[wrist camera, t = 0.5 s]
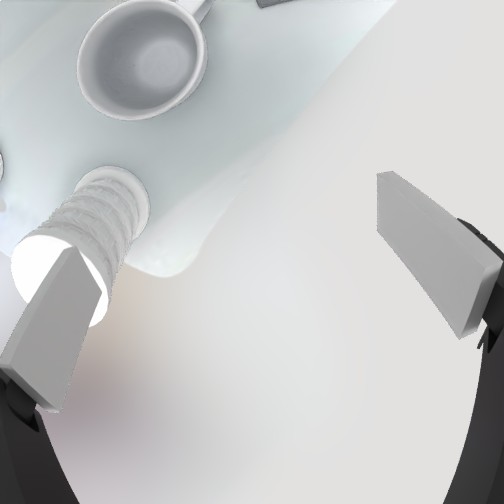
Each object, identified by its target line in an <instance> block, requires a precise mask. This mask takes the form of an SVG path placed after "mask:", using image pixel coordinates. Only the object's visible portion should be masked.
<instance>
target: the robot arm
mask: <svg viewBox="0 0 504 504" xmlns="http://www.w3.org/2000/svg"><path fill="white" fill-rule="evenodd" d="M377 204H378V206H377V211H378V212H377V214H378V215H377V217H378V218H377V231H378V233H379V234H380V235H381V236H382V237H383V238H384V240H385V241H386V242H387V243H388V244H389V246H390V247H391V248H392V249H393V250H394V252H395V253H396V254H397V255H398V257H399V258H400V259H401V260H402V262H403V263H404V264H405V265H406V267H407V268H408V269H409V270H410V272H411V273H412V274H413V275H414V277H415V278H416V280H417V281H418V282H419V283H420V285H421V286H422V287H423V289H424V290H425V291H426V293H427V294H428V296H429V297H430V298H431V299H432V301H433V303H434V304H435V305H436V306H437V308H438V310H439V311H440V312H441V314H442V315H443V317H444V318H445V319H446V321H447V322H448V324H449V325H450V327H451V328H452V330H453V331H454V333H455V334H456V336H457V337H458V339H461V338H464V337H466V336H468V335H470V334H472V333H474V332H476V331H477V329H478V326H479V324H480V322H481V319H482V318H483V319H484V321H485V322H486V323H487V327H486V329H485V331H484V334H483V335H482V337H481V339H480V342H479V344H478V347H477V349H480V347H481V345H482V343H483V342H484V344H483V353H482V362H481V369H480V376H479V382H478V388H477V394H476V399H475V404H474V408H473V413H472V417H471V422H470V426H469V430H468V434H467V437H466V441H465V444H464V448H463V451H462V454H461V457H460V461H459V463H458V466H457V469H456V472H455V475H454V478H453V480H452V483H451V485H450V488H449V490H448V493H447V495H446V498H445V500H444V502H443V504H504V254H503V252H502V251H501V250H500V249H498V248H497V247H496V246H495V245H494V244H493V243H492V242H491V241H489V240H488V239H487V238H486V237H485V236H484V235H483V234H480V232H479V231H478V230H477V229H476V228H475V227H474V226H472V225H471V224H469V223H467V222H465V221H463V220H461V219H459V218H457V219H456V218H455V217H453V216H452V215H451V214H450V213H448V212H447V211H446V210H445V209H443V208H442V207H441V206H439V205H438V204H437V203H436V202H435V201H433V200H432V199H431V198H429V197H428V196H427V195H425V194H424V193H423V192H421V191H420V190H419V189H417V188H416V187H414V186H413V185H412V184H410V183H409V182H408V181H406V180H405V179H403V178H402V177H400V176H399V175H397V174H396V173H395V172H393V171H390V172H384V173H378V174H377ZM101 295H102V291H101V289H100V287H99V286H98V284H97V282H96V281H95V279H94V277H93V275H92V274H91V272H90V270H89V268H88V266H87V265H86V263H85V261H84V259H83V257H82V255H81V253H80V252H79V250H78V248H77V246H76V245H75V246H72V247H69V248H66V249H64V250H63V251H62V253H61V254H60V255H59V257H58V258H57V260H56V261H55V263H54V264H53V266H52V267H51V269H50V270H49V272H48V273H47V275H46V276H45V278H44V279H43V281H42V282H41V284H40V286H39V287H38V289H37V290H36V292H35V294H34V295H33V297H32V299H31V300H30V302H29V304H28V305H27V307H26V309H25V311H24V312H23V314H22V316H21V318H20V319H19V321H18V323H17V325H16V327H15V329H14V330H13V333H12V334H11V336H10V338H9V340H8V342H7V344H6V346H5V348H4V350H3V352H2V354H1V356H0V504H79V502H78V500H77V498H76V496H75V494H74V492H73V491H72V489H71V487H70V485H69V483H68V481H67V479H66V477H65V474H64V472H63V470H62V468H61V466H60V464H59V461H58V459H57V457H56V455H55V452H54V449H53V447H52V445H51V442H50V439H49V437H48V434H47V431H46V429H45V426H44V423H43V420H42V417H41V415H40V413H39V412H38V411H37V410H36V409H35V406H36V403H38V404H39V405H40V406H41V407H42V408H44V409H45V410H46V411H47V412H56V413H61V411H62V408H63V404H64V400H65V397H66V393H67V390H68V387H69V383H70V380H71V376H72V373H73V370H74V367H75V364H76V361H77V358H78V355H79V352H80V350H81V347H82V344H83V341H84V338H85V336H86V333H87V330H88V328H89V325H90V322H91V320H92V317H93V315H94V312H95V310H96V307H97V305H98V302H99V300H100V297H101Z"/></svg>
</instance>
